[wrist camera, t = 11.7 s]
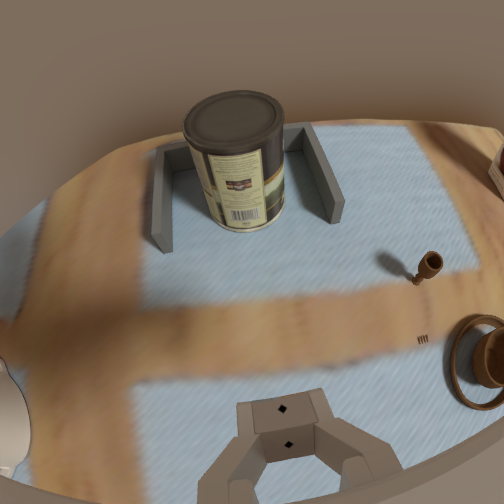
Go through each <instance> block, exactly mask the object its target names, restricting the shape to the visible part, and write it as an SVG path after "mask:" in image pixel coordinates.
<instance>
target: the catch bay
mask: <svg viewBox="0 0 504 504" xmlns="http://www.w3.org/2000/svg"><path fill="white" fill-rule="evenodd" d="M283 138H284V152H290V151H297V150H303V152H304V154H305V157H306V159H307V162H308V164H309V167H310V170H311V172H312V175H313V177H314V180H315V183H316V185H317V188H318V191H319V193H320V196H321V199H322V202H323V205H324V207H325V210H326V213H327V216H328V219H329V222H330V224H336V223H339V222H340V219H341V215H342V211H343V207H344V203H345V199H344V197H343V195H342V192H341V190H340V187H339V185H338V183H337V180H336V178H335V176H334V173H333V171H332V169H331V166H330V164H329V162H328V160H327V158H326V155H325V153H324V151H323V149H322V147H321V145H320V142H319V140H318V138H317V136H316V134H315V132H314V130H313V128H312V126H311V124H310V122H301V123H291V124H283ZM195 167H196V166H195V163H194V160H193V157H192V154H191V151H190V148H189V145H188V142H187V141H184V142H180V143H175V144H171V145H167V146H163V147H159V148H157V151H156V162H155V175H154V189H153V206H152V231H151V235H152V237H153V238H154V240H155V241H156V243H157V244H158V246H159V247H160V249H161V250H162V252H163V253H164V254H165V253H170V252H173V238H172V180H173V172H177V171H181V170H186V169H191V168H195Z"/></svg>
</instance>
